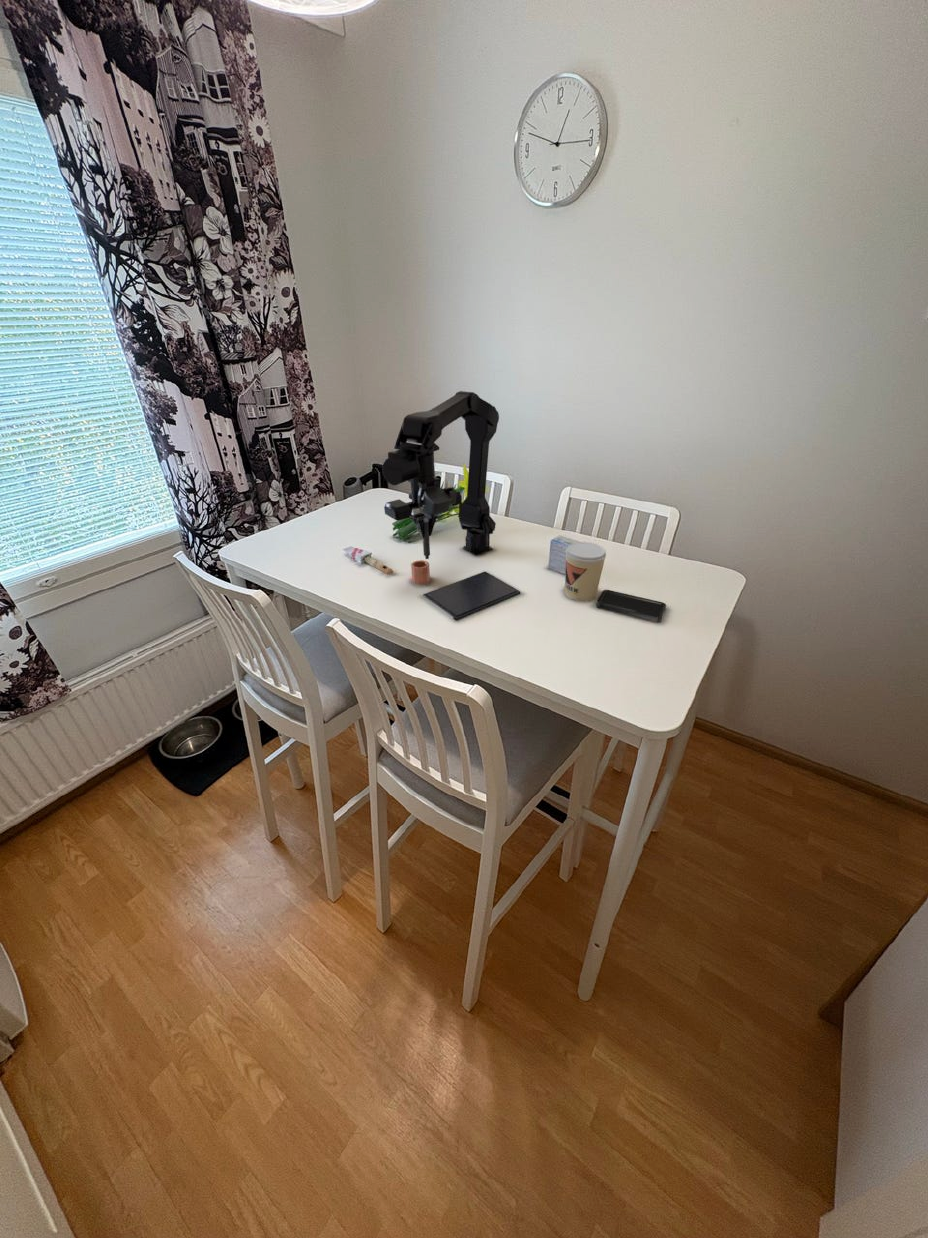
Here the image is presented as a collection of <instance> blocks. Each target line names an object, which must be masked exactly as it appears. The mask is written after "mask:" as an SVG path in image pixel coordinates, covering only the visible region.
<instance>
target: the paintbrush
mask: <svg viewBox="0 0 928 1238" xmlns="http://www.w3.org/2000/svg"><path fill="white" fill-rule="evenodd" d="M342 550H343V551H344V552H345V553H346V554H347V555H348V556H350V557H351V558H352V559H353V560H355V561H356V562H357V563H358V564H361V565H363V564H365V563H366V564H368V565H370V566H372V567H373V568H375V569H377V570H379V571H381V572H383V573H384V574H386V575H390V574H393V572H394V571H393V568H391V567H389V566H387V565H385V564H384V563H381V562H380V561H378V560H376V559H375V558H373V557H372V554H373V552H372V551H369V550H364V549H361V548H358V547H354V546H348V547H345V548H343V549H342Z"/></svg>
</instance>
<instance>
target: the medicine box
mask: <svg viewBox="0 0 928 1238" xmlns="http://www.w3.org/2000/svg"><path fill="white" fill-rule="evenodd" d="M577 542H581V541H579V540H577V539H573V538H570V537H567V536H564V535H561V534H560V535H558V536H555V537H554V538H552V539H550V543H549V552H548V553H549V554H548V565H547V569H549V570H552V571H555V572H557V573H560V574H562V575H565V572H566V550H567V548H568V546H569V545H571V544H573V543H577Z"/></svg>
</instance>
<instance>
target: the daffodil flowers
mask: <svg viewBox="0 0 928 1238" xmlns="http://www.w3.org/2000/svg"><path fill="white" fill-rule="evenodd" d="M462 467H463V468H462V472H463V479H462V480H460V481H458V482H457V484H455V485H454V486H452V485H450V486H449V488H451V487H453V488H454V489H455V490H456V491H459V492H460V494H463V495H464V499H462V503H463V501H464V500H465V498H466V497H467V489H468V473H469V470H468V469H467V466H466V463H465V462H464V461H463V462H462ZM444 482H445V480H443V482H442V484H441V486H440V489H443V488H444V485H445V483H444ZM456 486H458V487H457V488H456ZM463 491H464V492H463ZM488 491H490V488H488V487H487V486H486V489H485V492H488ZM453 512H454V513H453ZM422 513H424V509H423V507H422ZM458 515H459V504H458V505H454V506H452V505H450V507H449V511H448V512H442V513H440V514H439V515H438V517H437V519H436V522H435V524H436V523H438V522H440V521H441V522H443V521H445V520H446V519H449V518H451V517H455V516H458ZM391 525H392V526H393V527H392V531H393V532H394V531H395V530H396V532H395V533H393V534H392V537H393V538H395V537H397V538H399V539H400V541H401V542H402V541H404V540H406V539H407V538H409V537H411V538H409V539H408V540H407V541H406V543H409V542H411V541H412V540H414V539H415V538H416V537H419V536H420V534H419V532H418V530H417V528H416V526H415V524H414V523H413V521H412V519H411V518H410V517H409V518H406V519H403V520H395V521H394V522H392V523H391ZM414 534H415V535H414ZM412 535H413V536H412Z"/></svg>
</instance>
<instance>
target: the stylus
mask: <svg viewBox="0 0 928 1238" xmlns="http://www.w3.org/2000/svg"><path fill="white" fill-rule="evenodd" d="M424 530H425V537H424V538H422V545H423V546H422V548H423V556H424V558H425V560H429V559H430V556H431V546H430V545H431V544H430V536H429V523H428V519H427V518H424Z"/></svg>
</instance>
